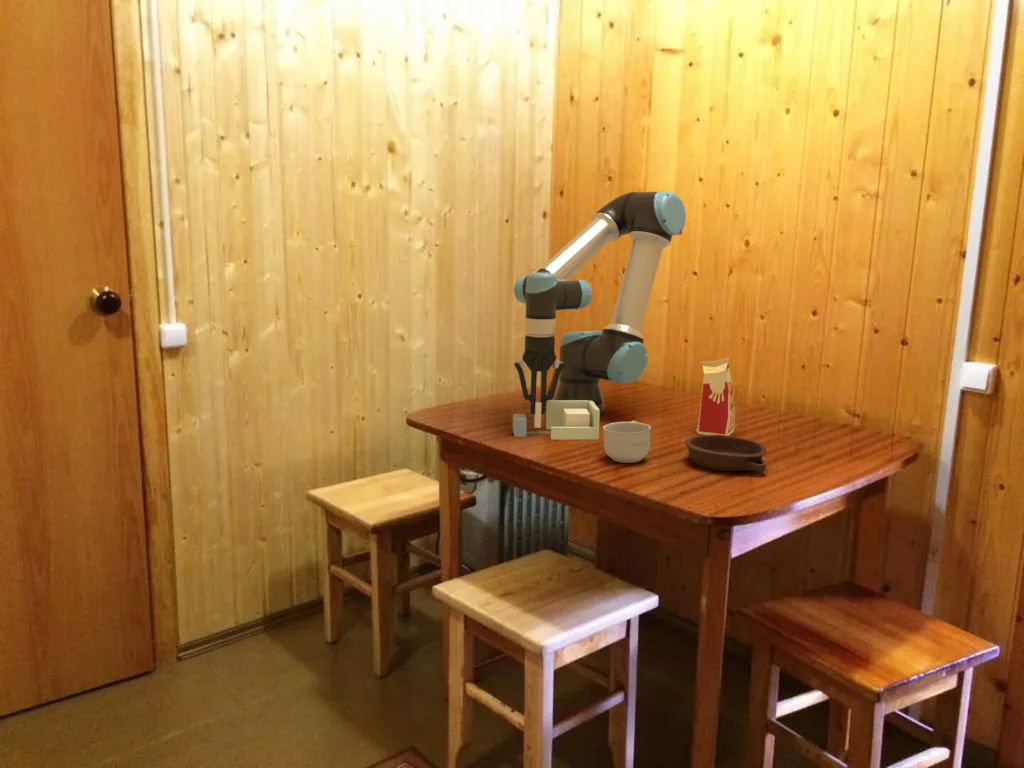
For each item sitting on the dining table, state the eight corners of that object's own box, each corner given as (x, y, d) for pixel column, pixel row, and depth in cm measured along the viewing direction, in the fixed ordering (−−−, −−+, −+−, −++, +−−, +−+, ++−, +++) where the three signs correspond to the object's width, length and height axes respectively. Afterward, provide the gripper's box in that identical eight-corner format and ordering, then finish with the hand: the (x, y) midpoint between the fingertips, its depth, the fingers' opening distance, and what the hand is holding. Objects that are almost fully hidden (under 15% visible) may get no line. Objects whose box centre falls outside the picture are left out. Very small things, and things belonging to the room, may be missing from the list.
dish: (734, 484, 170) (736, 461, 169) (661, 458, 188) (662, 437, 187) (788, 471, 180) (790, 450, 179) (714, 448, 198) (715, 428, 197)
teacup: (637, 469, 179) (639, 434, 177) (593, 461, 184) (595, 427, 183) (661, 455, 190) (663, 422, 189) (619, 447, 196) (620, 415, 194)
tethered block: (585, 431, 211) (586, 408, 210) (588, 436, 205) (589, 413, 204) (512, 430, 210) (513, 408, 209) (514, 436, 204) (514, 413, 203)
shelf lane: (591, 428, 214) (592, 400, 213) (598, 439, 203) (599, 410, 201) (546, 428, 213) (546, 400, 212) (551, 439, 202) (552, 409, 201)
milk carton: (734, 430, 215) (739, 356, 211) (728, 438, 207) (733, 361, 203) (700, 426, 219) (704, 353, 215) (692, 433, 211) (697, 358, 207)
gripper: (563, 333, 207) (560, 423, 211) (512, 332, 206) (510, 422, 210) (567, 337, 199) (564, 430, 204) (515, 336, 198) (513, 429, 203)
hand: (537, 426), depth 207 cm, fingers closed
